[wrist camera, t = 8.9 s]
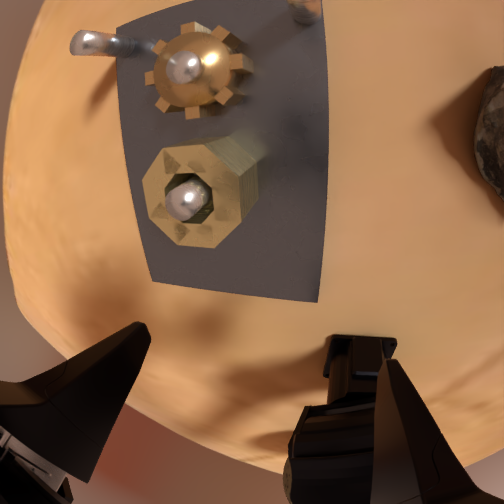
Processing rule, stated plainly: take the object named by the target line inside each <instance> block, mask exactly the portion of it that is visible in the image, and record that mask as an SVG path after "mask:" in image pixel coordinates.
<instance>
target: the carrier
mask: <svg viewBox="0 0 504 504" xmlns="http://www.w3.org/2000/svg"><path fill="white" fill-rule="evenodd" d="M70 53H71V54H72V55H82V56H107V57H116V61H117V84H118V98H119V110H120V120H121V129H122V137H123V145H124V152H125V159H126V165H127V171H128V177H129V183H130V188H131V194H132V199H133V204H134V209H135V213H136V218H137V223H138V227H139V231H140V236H141V240H142V244H143V248H144V252H145V256H146V260H147V263H148V267H149V271H150V274H151V278H152V281H154V282H160V283H166V284H172V285H178V286H185V287H192V288H198V289H205V290H212V291H220V292H227V293H235V294H242V295H250V296H259V297H267V298H276V299H285V300H294V301H304V302H314V303H318V295H319V286H320V277H321V268H322V257H323V246H324V234H325V220H326V205H327V184H328V152H329V103H328V73H327V55H326V40H325V28H324V18H323V9H322V0H193V1H190V2H186V3H182V4H179V5H176V6H172V7H169V8H166V9H163V10H160V11H157V12H154V13H151V14H149V15H146V16H143V17H141V18H138V19H136V20H133V21H131V22H129V23H126V24H124V25H122V26H120V27H117V28H116V34H110V33H104V32H96V31H88V30H80V31H78V32H77V33H76V34H75V35H74V36H73V38H72V40H71V43H70ZM221 136H229V137H230V138H232V139H233V140H234V141H235V142H236V143H237V144H238V145H239V146H240V147H241V148H243V149H244V150H245V151H246V152H247V153H248V154H249V155H250V156H251V157H252V158H253V159H254V160H255V161H256V162H257V176H258V200H257V201H256V203H255V204H254V205H253V207H252V208H251V210H250V211H249V212H248V214H247V215H246V216H245V218H244V219H243V221H242V222H241V223H240V224H239V225H238V226H237V227H236V228H235V229H234V230H233V231H232V232H231V233H229V234H228V235H227V236H226V237H225V238H224V239H223V240H222V241H221V242H220V243H219V244H218V245H217V246H216V247H215V248H205V247H193V246H182V245H177V244H176V243H175V242H174V241H173V240H171V239H170V238H169V237H168V236H167V235H166V234H165V233H164V232H163V231H162V230H161V229H160V228H159V227H158V226H157V225H156V224H155V223H154V222H153V221H152V220H151V219H149V215H148V210H147V205H146V200H145V194H144V189H143V183H142V179H143V177H144V176H145V174H146V173H147V171H148V169H149V168H150V166H151V165H152V163H153V162H154V160H155V159H156V157H157V156H158V154H159V153H160V151H161V150H162V148H164V147H167V146H171V145H174V144H177V143H180V142H183V141H187V140H190V139H194V138H205V137H221ZM209 201H213V194H212V188H211V187H210V186H209V185H208V184H207V183H206V182H205V181H204V180H202V179H201V178H200V177H199V176H198V175H197V174H196V173H194V177H193V178H191V179H189V180H188V181H186V182H184V183H183V184H181V185H179V186H178V187H176V188H175V189H173V190H171V191H170V192H169V193H168V194H167V196H166V199H165V206H166V209H167V211H168V213H169V214H170V215H171V216H172V217H173V218H175V219H177V220H180V221H185V220H188V219H190V218H191V217H192V216H193V215H194V214H196V213H197V212H198V211H199V210H200V209H201V208H202V207H203V206H205V205H206V204H207V203H208V202H209Z"/></svg>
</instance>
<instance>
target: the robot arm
mask: <svg viewBox="0 0 504 504" xmlns="http://www.w3.org/2000/svg"><path fill="white" fill-rule="evenodd" d="M150 343H151V336H150V333H149V331H148V328H147V326H146V324H145V323H142V322H134V323H132V324H130V325H128V326H127V327H125V328H123V329H121V330H120V331H118V332H116V333H114V334H113V335H111V336H109V337H107V338H106V339H104V340H102V341H100V342H98V343H97V344H95V345H93V346H91V347H90V348H88V349H86V350H84V351H83V352H81V353H79V354H77V355H75V356H74V357H72V358H70V359H69V360H66V361H65V362H63V363H61V364H59V365H57V366H56V367H54V368H52V369H50V370H48V371H45V372H44V373H41V374H39V375H37V376H34V377H32V378H30V379H28V380H25V381H23V382H17V383H13V382H5V381H0V504H71V503H72V501H73V496H72V493H71V489H70V485H69V481H68V478H67V477H66V475H67V473H69V474H70V475H72V476H74V477H76V478H77V479H79V480H81V481H83V482H85V483H88V482H89V480H90V478H91V476H92V473H93V471H94V468H95V466H96V464H97V461H98V459H99V457H100V455H101V452H102V450H103V447H104V445H105V443H106V441H107V439H108V437H109V434H110V432H111V430H112V428H113V426H114V424H115V421H116V419H117V417H118V415H119V413H120V411H121V409H122V407H123V405H124V403H125V401H126V398H127V396H128V394H129V392H130V390H131V388H132V386H133V384H134V382H135V380H136V378H137V376H138V374H139V372H140V369H141V367H142V364H143V361H144V359H145V356H146V354H147V351H148V348H149V346H150ZM396 347H397V340H396V339H395V338H379V337H361V336H347V335H334V336H332V338H331V342H330V346H329V351H328V355H327V359H326V363H325V367H324V371H323V376H324V377H325V378H329V386H328V396H327V404H326V405H318V406H305V407H304V409H303V412H302V414H301V416H300V419H299V421H298V423H297V426H296V428H295V430H294V432H293V435H292V437H291V439H290V441H289V444H288V456H289V462H290V466H291V473H292V483H291V493H290V500H291V502H292V504H504V500H503V499H500V498H498V497H495V496H493V495H491V494H488V493H486V492H484V491H482V490H481V489H479V488H478V487H477V486H476V485H475V483H474V482H473V481H472V479H471V478H470V476H469V475H468V473H467V472H466V471H465V469H464V468H463V466H462V465H461V463H460V462H459V461H458V459H457V458H456V456H455V455H454V453H453V452H452V450H451V448H450V446H449V445H448V443H447V441H446V440H445V438H444V436H443V434H442V433H441V431H440V429H439V427H438V425H437V424H436V422H435V420H434V419H433V417H432V415H431V413H430V412H429V410H428V408H427V407H426V405H425V403H424V402H423V400H422V398H421V397H420V395H419V393H418V392H417V390H416V389H415V387H414V385H413V384H412V382H411V381H410V379H409V377H408V376H407V374H406V373H405V371H404V370H403V368H402V366H401V365H400V363H399V362H398V360H396V359H391V357H392V355H393V353H394V351H395V349H396Z"/></svg>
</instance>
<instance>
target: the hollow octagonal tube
mask: <svg viewBox="0 0 504 504" xmlns="http://www.w3.org/2000/svg"><path fill="white" fill-rule="evenodd" d="M194 173H196V174H197V175H198V176H199V177H200V178H201V179H202V180H204V181H205V182H206V183H207V184H208V185H209V186H210V187H211V188H212V194H213V201H209V202H208V203H207V204H206V205H205V206H203V207H202V208H201V209H200V210H199V211H198V212H197V213H196V214H194V215H193V216H192V217H191V218H190V219H188V220H185V221H180V220H177V219H175V218H173V217H172V216H171V215H170V214H169V213H168V211H167V209H166V206H165V199H166V196H167V194H168V193H169V192H170V191H171V190H173V189H175V188H176V187H178V186H179V185H181V184H183V183H184V182H186V181H188V180H189V179H191V178H193V177H194ZM142 183H143V189H144V194H145V200H146V205H147V210H148V215H149V219H151V220H152V221H153V222H154V223H155V224H156V225H157V226H158V227H159V228H160V229H161V230H162V231H163V232H164V233H165V234H166V235H167V236H168V237H169V238H170V239H171V240H173V241H174V242H175V243H176V244H177V245H182V246H193V247H205V248H215V247H216V246H217V245H218V244H219V243H220V242H221V241H222V240H223V239H224V238H225V237H226V236H227V235H228V234H229V233H231V232H232V231H233V230H234V229H235V228H236V227H237V226H238V225H239V224H240V223H241V222H242V221H243V219H244V218H245V216H246V215H247V214H248V212H249V211H250V210H251V208H252V207H253V205H254V204H255V203H256V201H257V200H258V176H257V162H256V161H255V160H254V159H253V158H252V157H251V156H250V155H249V154H248V153H247V152H246V151H245V150H244V149H243V148H241V147H240V146H239V145H238V144H237V143H236V142H235V141H234V140H233V139H232V138H230V137H229V136H221V137H205V138H194V139H190V140H187V141H183V142H180V143H177V144H174V145H171V146H167V147H164V148H162V150H161V151H160V153H159V154H158V156H157V157H156V159H155V160H154V162H153V163H152V165H151V166H150V168H149V169H148V171H147V173H146V174H145V176H144V177H143V179H142Z"/></svg>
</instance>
